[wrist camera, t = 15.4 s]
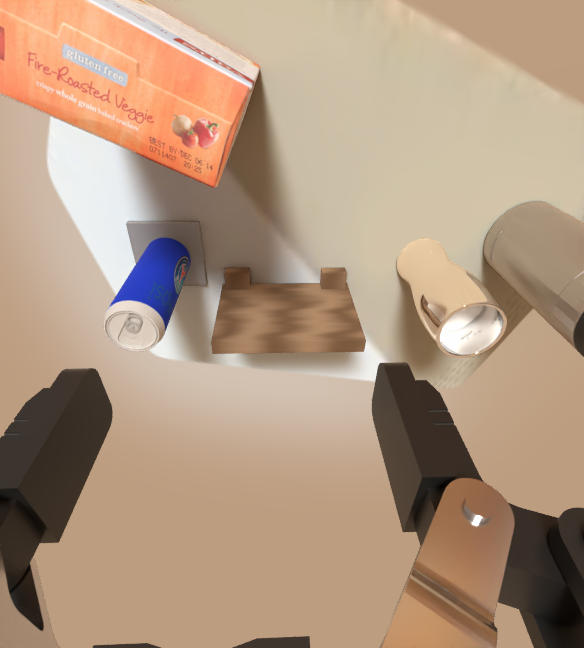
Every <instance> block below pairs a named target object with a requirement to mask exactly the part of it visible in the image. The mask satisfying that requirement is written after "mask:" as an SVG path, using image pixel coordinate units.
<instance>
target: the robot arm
mask: <svg viewBox="0 0 584 648" xmlns="http://www.w3.org/2000/svg"><path fill="white" fill-rule="evenodd" d="M484 255H485V259H486V261H487V262H488V264H489V265H490V266H491V267H492V268H493V269H494V270H495V271H496V272H497V273H498V274H499V275H500V276H501V277H502V278H503V279H504V280H505V281H506V282H507V283H508V284H509V285H510V286H511V287H512V288H513V289H514V290H515V291H516V292H517V293H518V294H519V295H521V296H522V297H523V298H524V299H525V300H526V301H527V302H528V303H529V304H530V305H531V306H532V307H533V308H534V309H535V310H536V311H537V312H538V313H539V314H540V315H541V316H542V317H543V318H544V319H545V320H546V321H547V322H548V323H550V325H551V326H552V327H553V328H554V329H555V330H556V331H557V332H559V333H560V334H561V335H562V336H563V337H564V338H565V339H566V340H567V341H568V342H569V343H570V344H571V345H572V346H573V347H574V348H575V349H576V350H577V351H578V352H579V353H580V354H581V355H582V356H584V223H583V222H581V221H579V220H578V219H576V218H574V217H572V216H571V215H569V214H567V213H565V212H563V211H561V210H559V209H558V208H556V207H554V206H552V205H550V204H548V203H545V202H534V201H533V202H528V203H524V204H521V205H518V206H516V207H514V208H512V209H511V210H509V211H507V212H506V213H505V214H504V215H502V216H501V217H500V218H499V219H498V220H497V221H496V222H495V223H494V225H493V226H492V227H491V229H490V230H489V232H488V234H487V237H486V239H485V243H484ZM372 415H373V421H374V425H375V428H376V432H377V436H378V440H379V443H380V447H381V451H382V455H383V458H384V462H385V466H386V469H387V474H388V478H389V481H390V485H391V489H392V492H393V496H394V500H395V504H396V508H397V511H398V515H399V519H400V523H401V527H402V530H403V532H417V535H418V539H419V542H420V545H421V547H420V549H419V552H418V554H417V557H416V559H415V562H414V564H413V567H412V569H411V571H410V574H409V576H408V579H407V581H406V584H405V586H404V589H403V591H402V594H401V596H400V599H399V601H398V604H397V606H396V609H395V611H394V613H393V616H392V618H391V621H390V623H389V626H388V628H387V631H386V633H385V635H384V638H383V640H382V643H381V645H380V647H379V648H496V646H497V628H496V627H495V626H494V617H495V611H496V607H497V602H499V603H502V604H505V605H508V606H511V607H514V608H517V609H519V610H520V613H521V615H522V618H523V620H524V623H525V626H526V628H527V631H528V633H529V636H530V639H531V641H532V644H533V646H534V648H584V508H571V509H568V510H566V511H564V512H563V513H562V515H561V516H560V517H559V518H556V517H552V516H549V515H545V514H541V513H538V512H534V511H530V510H527V509H523V508H520V507H517V506H515V505H512V504H510V503H508V502H507V501H506V499H505V498H504V497H503V496H502V495H501V494H500V493H499V492H498V491H497V490H496V489H494V488H493V487H492V486H490V485H488V484H486V483H484V481H483V480H482V479H481V477H480V475H479V473H478V471H477V469H476V467H475V465H474V463H473V461H472V459H471V457H470V455H469V452H468V450H467V448H466V446H465V444H464V442H463V440H462V438H461V436H460V434H459V432H458V430H457V428H456V426H455V425H454V421H453V419H452V417H451V415H450V413H449V412H448V409H447V407H446V405H445V403H444V401H443V398H442V397H441V394H440V393H439V392H438V391H437V390H436V389H435V388H434V387H433V386H432V385H431V384H430V383H429V382H428V381H427V380H415V378H414V376H413V374H412V371H411V369H410V367H409V365H408V364H407V363H406V362H401V363H380V364H379V366H378V370H377V376H376V381H375V388H374V393H373V399H372ZM111 422H112V406H111V403H110V400H109V398H108V396H107V393H106V391H105V388H104V386H103V383H102V381H101V378H100V376H99V374H98V372H97V371H96V369H93V368H89V369H65V370H63V371H62V372H61V373H60V374H59V375H58V377H57V378H56V380H55V381H54V383H53V384H52V386H51V387H50V388H43V389H42V390H41V391H40V392H39V393H37V394H36V395H35V396H34V397H32V398H31V399H30V400H29V401H27V402H26V403H25V405H24V406H23V407H22V409H21V410H20V412H19V413H18V414H17V416H16V417H15V419H14V422H12V423H11V424H10V426H9V427H8V429H7V430H6V431H5V433H4V434H5V435H4V436H2V437H1V438H0V648H60V647H59V645H58V644H57V641H56V639H55V637H54V634H53V631H52V627H51V623H50V619H49V614H48V610H47V606H46V602H45V598H44V593H43V590H42V586H41V581H40V577H39V573H38V569H37V564H36V561H35V559H34V558H33V556H34V553H35V551H36V549H37V547H38V545H39V543H55V542H56V543H57V542H59V541H60V538H61V536H62V534H63V532H64V529H65V527H66V525H67V523H68V520H69V518H70V516H71V513H72V512H73V509H74V507H75V505H76V502H77V500H78V498H79V496H80V493H81V491H82V489H83V487H84V485H85V482H86V480H87V478H88V476H89V473H90V471H91V469H92V467H93V464H94V462H95V460H96V458H97V455H98V453H99V451H100V448H101V446H102V444H103V442H104V440H105V437H106V435H107V433H108V431H109V428H110V426H111ZM93 648H160V647H157V646H154V645H151V644H148V643H141V644H117V645H94V646H93ZM233 648H310V639H309V637H308V636H306V637H283V638H259V639H254V640H252V641H249V642H246V643H244V644H241V645H238V646H236V647H233Z"/></svg>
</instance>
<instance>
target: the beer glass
mask: <svg viewBox="0 0 584 648" xmlns="http://www.w3.org/2000/svg"><path fill="white" fill-rule="evenodd" d="M397 271H398V273H399V275H400V276H401V277H402V278H403V279H404V280H405V281H406V282H407V283H408V284H409V285H410V287H411V291H412V295H413V299H414V303H415V307H416V310H417V313H418V315H419V317H420V319H421V321H422V323H423V325H424V326H425V328H426V330H427V331H428V333H429V334H430V336H431V337H432V338H433V340H434V341H435V342H436V344H437V345H438V347H439V349H440V350H441V351H442V352H443V353H445V354H446V355H449V356H452V357H457V358H466V357H472V356H475V355H478V354H481V353H483V352H485V351H487V350H488V349H490V348H491V347H492V346H494V345H495V344H496V343H497V342H498V341H499V340H500V339H501V337H502V336H503V334H504V332H505V330H506V326H507V317H506V314H505V312H504V311H503V309H502V308H501V307H500V306H499V305H498V303H497V302H496V300H495V299H494V297H493V296H492V295H491V293H490V292H489V291H488V290H487V288H486V287H485V286H484V285H483V284H482V283H481V282H480V281H479V280H478V279H477V278H476V277H475V276H473V275H472V274H471V273H469V272H468V271H466V270H465V269H463V268H462V267H460V266H458V265H457V264H455V263H453V262H452V261H451V260H449V258H448V257H447V254H446V252H445V250H444V248H443V246H442V245H441V244H440V243H439V242H438V241H436V240H434V239H430V238H422V239H417V240H415V241H413V242H411V243H409V244H408V245H407V246H405V247H404V248H403V250H402V251H401V252H400V254H399V256H398V259H397Z"/></svg>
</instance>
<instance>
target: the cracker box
mask: <svg viewBox="0 0 584 648" xmlns="http://www.w3.org/2000/svg"><path fill="white" fill-rule="evenodd" d="M259 70H260V66H259V65H258V64H256V63H254V62H252V61H250V60H249V59H247V58H245V57H243V56H242V55H240V54H238V53H236V52H235V51H233V50H231V49H229V48H228V47H226V46H224V45H222V44H221V43H219V42H217V41H215V40H214V39H212V38H210V37H208V36H206V35H205V34H203V33H201V32H199V31H197V30H196V29H194V28H192V27H190V26H188V25H187V24H185V23H183V22H181V21H179V20H178V19H176V18H174V17H172V16H170V15H168V14H167V13H165V12H163V11H161V10H159V9H158V8H156V7H154V6H152V5H150V4H149V3H147V2H145V1H143V0H0V94H1V95H3V96H5V97H8V98H10V99H12V100H15V101H17V102H19V103H22V104H24V105H26V106H29V107H31V108H33V109H36V110H38V111H40V112H43V113H45V114H47V115H50V116H52V117H54V118H56V119H59V120H61V121H63V122H66V123H68V124H70V125H72V126H75V127H77V128H79V129H82V130H84V131H86V132H89V133H91V134H93V135H95V136H98V137H100V138H103V139H105V140H107V141H110V142H112V143H114V144H117V145H119V146H121V147H123V148H125V149H128V150H130V151H132V152H134V153H136V154H139V155H141V156H143V157H145V158H147V159H149V160H152V161H154V162H156V163H158V164H160V165H163V166H165V167H167V168H170V169H172V170H174V171H176V172H179V173H181V174H183V175H186V176H188V177H190V178H192V179H195V180H197V181H199V182H201V183H204V184H206V185H208V186H211V187H213V188H217V186H218V184H219V182H220V179H221V177H222V174H223V171H224V169H225V166H226V164H227V161H228V158H229V156H230V153H231V150H232V148H233V145H234V142H235V140H236V137H237V134H238V132H239V129H240V126H241V124H242V121H243V118H244V115H245V112H246V109H247V106H248V104H249V101H250V98H251V95H252V92H253V89H254V86H255V83H256V80H257V76H258V73H259Z"/></svg>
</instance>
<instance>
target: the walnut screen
mask: <svg viewBox="0 0 584 648" xmlns="http://www.w3.org/2000/svg"><path fill="white" fill-rule="evenodd" d="M224 276H225V284H223V286H222V291H221V296H220V301H219V306H218V311H217V316H216V321H215V326H214V331H213V336H212V341H211V345H212V352H213V354H227V353H297V352H364V349H365V343H366V339H365V336H364V333H363V330H362V327H361V324H360V321H359V318H358V315H357V312H356V309H355V306H354V303H353V300H352V297H351V294H350V291H349V288H348V285H347V283H346V276H347V272H346V270H345V268H321V279H320V283H295V284H250V268H225V273H224Z"/></svg>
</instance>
